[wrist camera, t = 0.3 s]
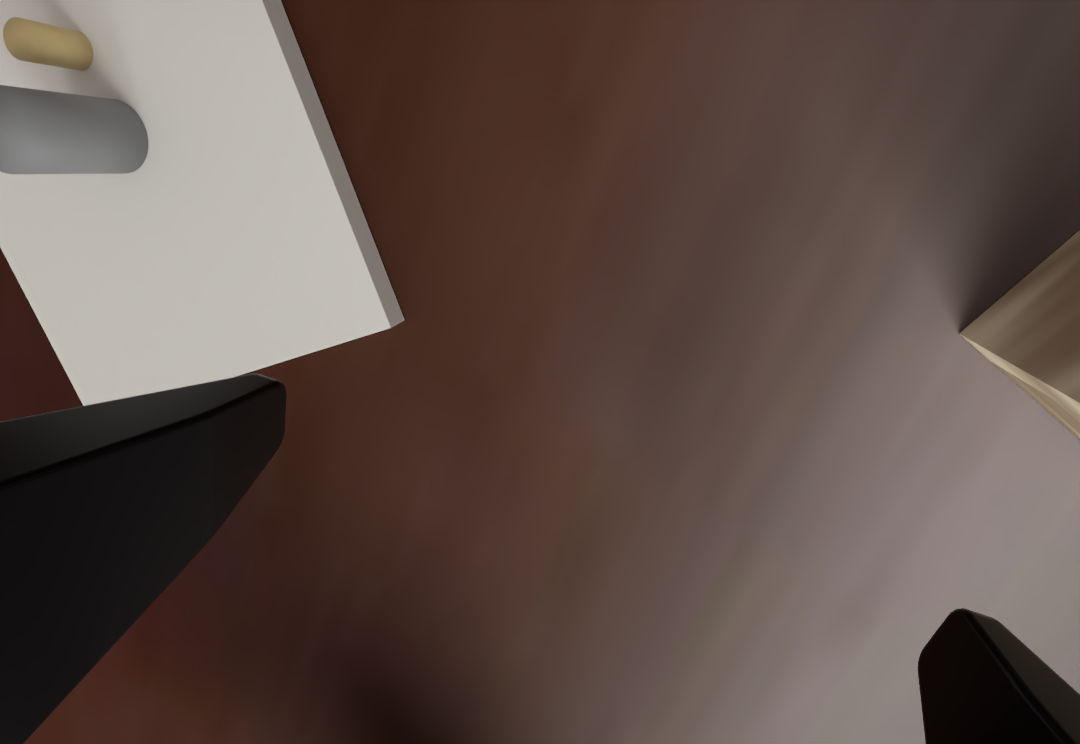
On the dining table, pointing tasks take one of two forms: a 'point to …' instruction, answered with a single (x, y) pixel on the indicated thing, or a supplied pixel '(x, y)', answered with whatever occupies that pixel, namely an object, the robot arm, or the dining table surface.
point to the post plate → (176, 193)
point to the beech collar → (1039, 334)
